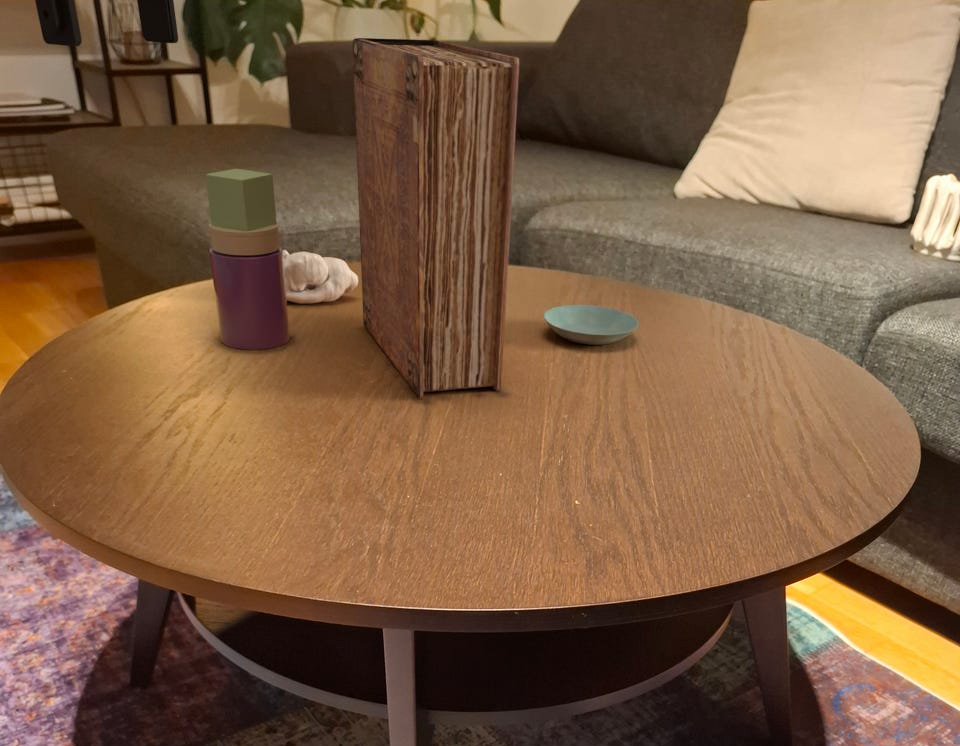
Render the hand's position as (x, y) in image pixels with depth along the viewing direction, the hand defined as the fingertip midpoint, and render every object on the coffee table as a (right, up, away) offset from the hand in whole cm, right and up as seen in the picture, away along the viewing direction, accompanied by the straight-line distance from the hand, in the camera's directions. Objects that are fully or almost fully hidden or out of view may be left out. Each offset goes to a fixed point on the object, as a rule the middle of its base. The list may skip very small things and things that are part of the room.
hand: (114, 43), depth 68 cm
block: (+2, +1, +31) cm, 31 cm away
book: (+21, -12, +36) cm, 44 cm away
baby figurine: (+4, +1, +53) cm, 53 cm away
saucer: (+41, -7, +45) cm, 61 cm away
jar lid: (+1, 0, +32) cm, 32 cm away
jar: (+1, -9, +39) cm, 40 cm away
